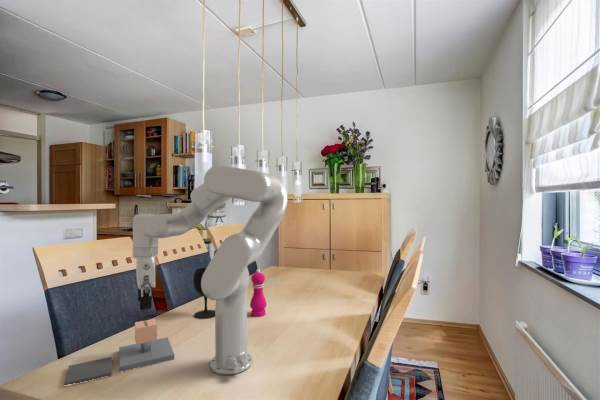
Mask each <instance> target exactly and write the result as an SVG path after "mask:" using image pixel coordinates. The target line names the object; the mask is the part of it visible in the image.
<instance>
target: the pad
mask: <svg viewBox="0 0 600 400" xmlns="http://www.w3.org/2000/svg"><path fill="white" fill-rule="evenodd" d="M112 369H113V356H108V357H103V358H99V359H94V360H88V361H84V362H81V363H80V362H79V363H75V364H70V365H68V367H67V371H66V373H65V374H66V375H65V378H64V381H63V386H64V385H68V384H73V383H80V382H84V381H88V382H90V381H89V380H92V379H97V378H101V377H105V376H109V377H111V376H110V375H112V372H113V370H112ZM112 376H113V375H112ZM105 378H106V377H105ZM101 379H102V378H101ZM97 380H98V379H97ZM84 383H85V382H84ZM80 384H81V383H80Z"/></svg>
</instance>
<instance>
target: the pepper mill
mask: <svg viewBox="0 0 600 400" xmlns="http://www.w3.org/2000/svg"><path fill="white" fill-rule="evenodd" d="M250 280H251V282H252V289H253V294H252V297H251V300H250V303H249V308H251V310H250V316H252V317H255V318H256V317H257V318H260V317H264V316H265V315H266V307H267V300H266V297H265V296H264V290H263V289H264V286H265V284H264V283H265V280H266V276H265V274H264V273H262V272H261V270H260V269H259V268H257V269H256V271H255V272H254V273H253V274H252V275H251V279H250Z"/></svg>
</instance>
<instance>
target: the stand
mask: <svg viewBox="0 0 600 400" xmlns="http://www.w3.org/2000/svg"><path fill="white" fill-rule="evenodd" d="M118 356H119V357H118V359H119V361H118V363H119V364H118V365H119V372H120V371H123V372H126V371H125V370H127V371H130V370H129V369H131V370H134V369H133V368H136V369H139V368H138V367H140V368H144V367H147V365H148V366H151V365H156V364H159V363H164V362H168V361H173V360H175V353H174V350H173V348H172V345H171V342H170V340H169V337H163V338H162V337H161V338H157V340H156V341H151V351H149V352H147V353H141V344H137V345H136V343H134V344H133V343H132V344H129V345H122V346H119V347H118ZM143 366H144V367H143Z"/></svg>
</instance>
